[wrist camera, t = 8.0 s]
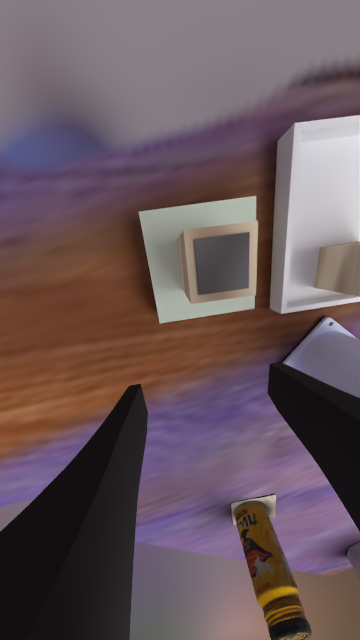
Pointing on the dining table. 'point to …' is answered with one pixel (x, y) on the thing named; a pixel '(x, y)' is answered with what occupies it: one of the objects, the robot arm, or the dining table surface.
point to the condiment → (270, 569)
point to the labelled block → (218, 261)
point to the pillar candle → (355, 556)
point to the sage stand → (164, 258)
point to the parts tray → (313, 208)
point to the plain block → (339, 268)
